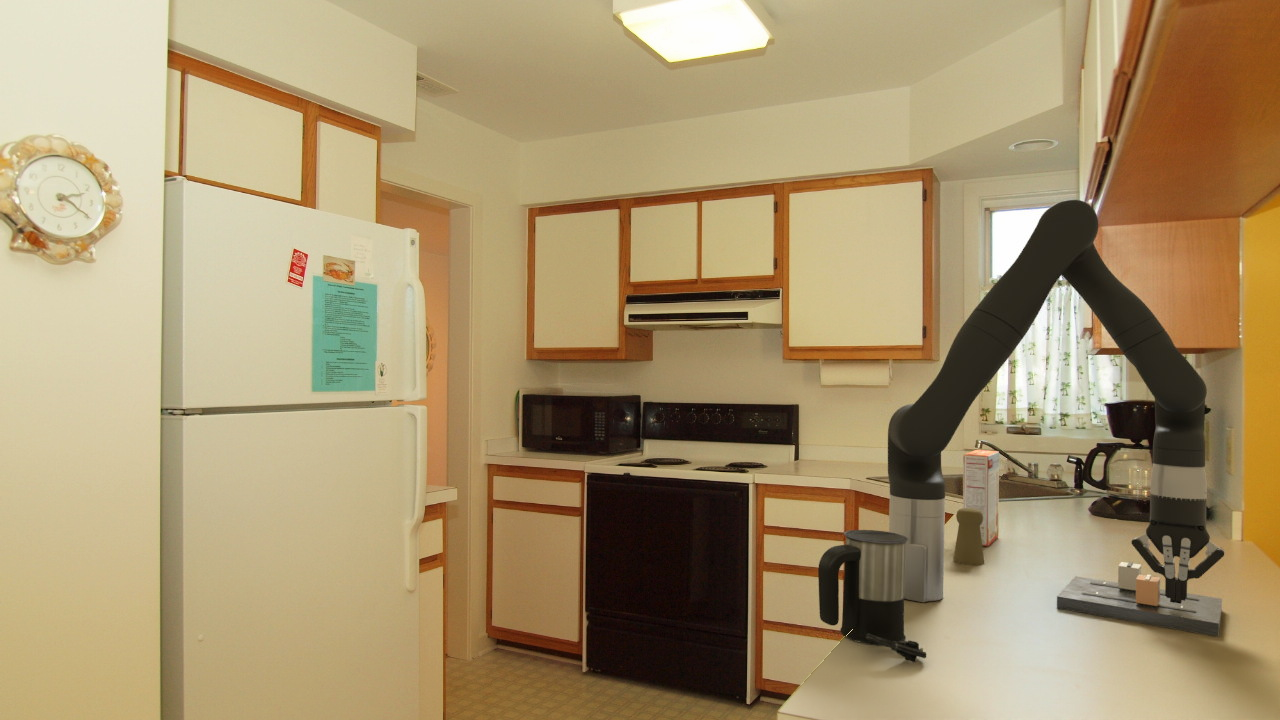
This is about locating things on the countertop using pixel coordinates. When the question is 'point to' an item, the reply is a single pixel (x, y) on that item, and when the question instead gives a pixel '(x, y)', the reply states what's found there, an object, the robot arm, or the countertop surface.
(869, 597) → the milk frother
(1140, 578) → the fader orange
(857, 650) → the countertop surface
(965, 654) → the countertop surface
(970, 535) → the cork
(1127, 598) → the console
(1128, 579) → the fader grey
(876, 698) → the countertop surface
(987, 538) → the cracker box
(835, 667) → the countertop surface
